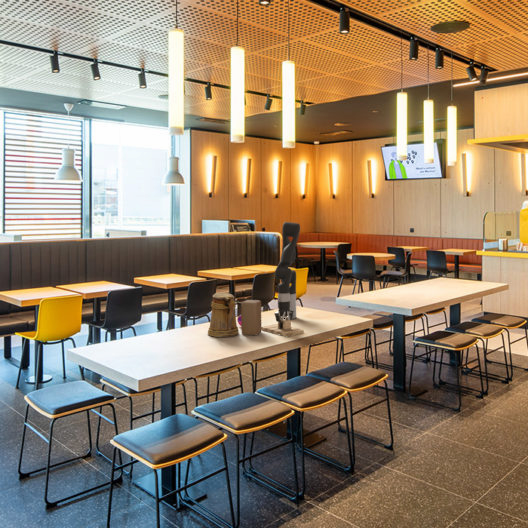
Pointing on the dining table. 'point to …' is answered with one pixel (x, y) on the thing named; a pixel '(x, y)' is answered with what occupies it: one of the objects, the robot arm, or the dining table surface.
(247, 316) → the wooden block
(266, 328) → the board
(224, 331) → the tankard
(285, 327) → the sanding block
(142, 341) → the dining table surface
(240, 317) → the pencil case
